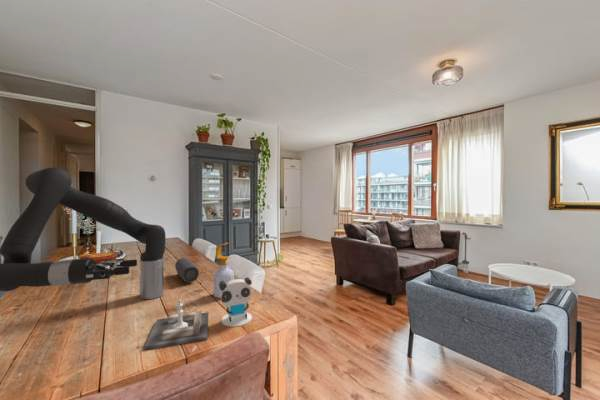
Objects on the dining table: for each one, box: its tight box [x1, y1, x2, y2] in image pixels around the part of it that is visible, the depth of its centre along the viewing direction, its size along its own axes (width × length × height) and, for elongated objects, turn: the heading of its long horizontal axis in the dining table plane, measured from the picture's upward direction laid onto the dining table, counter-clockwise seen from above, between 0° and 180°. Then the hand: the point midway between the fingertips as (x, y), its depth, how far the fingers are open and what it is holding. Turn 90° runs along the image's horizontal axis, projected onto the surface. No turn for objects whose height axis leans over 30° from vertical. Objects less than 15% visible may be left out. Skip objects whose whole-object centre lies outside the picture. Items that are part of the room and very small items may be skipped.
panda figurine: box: [219, 277, 253, 328], centre depth 98 cm, size 12×11×15 cm
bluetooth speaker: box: [174, 257, 200, 283], centre depth 144 cm, size 23×9×10 cm, turn 34°
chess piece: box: [172, 298, 188, 329], centre depth 90 cm, size 5×5×10 cm
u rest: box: [144, 310, 209, 351], centre depth 90 cm, size 18×18×3 cm
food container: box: [84, 251, 118, 264], centre depth 156 cm, size 16×16×11 cm
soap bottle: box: [213, 242, 235, 299], centre depth 121 cm, size 9×9×25 cm
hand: (133, 266), depth 85 cm, fingers open, 8 cm apart
